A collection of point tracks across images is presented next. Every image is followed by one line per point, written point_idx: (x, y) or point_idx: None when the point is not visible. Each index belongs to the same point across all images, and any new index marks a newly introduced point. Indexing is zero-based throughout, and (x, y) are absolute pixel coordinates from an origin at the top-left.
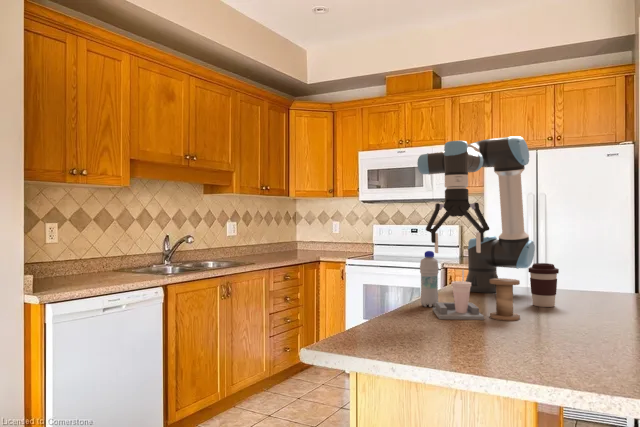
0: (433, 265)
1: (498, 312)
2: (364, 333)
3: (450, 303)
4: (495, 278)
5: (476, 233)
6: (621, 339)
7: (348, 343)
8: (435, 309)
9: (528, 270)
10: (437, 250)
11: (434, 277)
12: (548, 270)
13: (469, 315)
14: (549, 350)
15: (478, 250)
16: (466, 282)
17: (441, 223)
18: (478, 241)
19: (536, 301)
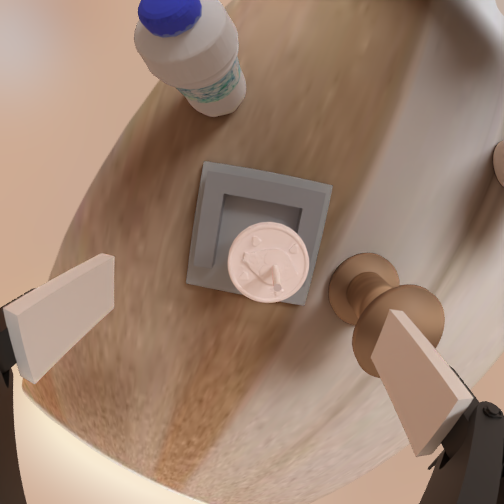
0: (189, 72)
1: (348, 300)
2: None
3: (248, 197)
4: (404, 290)
5: (445, 407)
6: None
7: (48, 389)
8: (202, 191)
9: None
10: (101, 313)
11: (210, 87)
12: None
13: None
14: (287, 467)
15: (375, 366)
16: (284, 280)
17: (7, 461)
18: (396, 405)
19: (500, 170)
